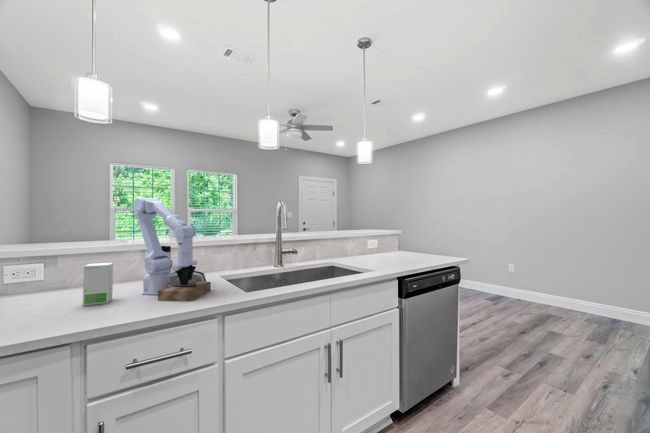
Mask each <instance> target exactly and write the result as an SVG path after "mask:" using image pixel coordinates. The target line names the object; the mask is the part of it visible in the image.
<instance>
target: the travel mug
mask: <svg viewBox="0 0 650 433" xmlns="http://www.w3.org/2000/svg"><path fill="white" fill-rule="evenodd" d="M160 246H161V249H162V251H164V252H166V253H168V255H169V257H170V258H171V259H172V253H171V252H172V250H171V249H172V247H171V245H160ZM171 274H172V268H171V269H170V271H169V272H168V282H169V285H170V280H169V277H170V275H171Z"/></svg>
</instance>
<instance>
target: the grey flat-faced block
mask: <svg viewBox="0 0 650 433" xmlns="http://www.w3.org/2000/svg"><path fill="white" fill-rule="evenodd" d="M176 287H196V279H187V284H186V285H181V283H180V280H179V279H177V280H176Z"/></svg>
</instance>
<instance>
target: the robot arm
mask: <svg viewBox="0 0 650 433" xmlns="http://www.w3.org/2000/svg"><path fill="white" fill-rule="evenodd" d="M132 208H133V210H134V211H133V212H134V213H135V216H136V218H137V223H138V225H139V226H138V227H139V229H140V232H141V234H142V235H141V236H142V238H143V240H144V245H145V247H146V250H147V252H148V253H147V255H146V257H145V258H144V269H145V271H146V274H145V275H144V276H143V280H142V282H143V283H142V286H143V287H142V288H143V292H142V293H141V294H142V295H156V296H158V291H159V290H161V289H164V288H166V287H169V286H170V284H169V282H168V272H169V271H170V269H171V270H172V271H174V272H176V273H177V275H178V277H179V280H180V283H181V285H186V284H187V279H192V275H193V272H194V270H197V269H196V268H197V266H196V265H198V260H196V259H195V260H193V257H194V256H193V251H194V250H193V249H194V248H193V244H194V243H193V238H194V237H195V236H196V232H197V231H196V228H195V227H194V225H192V224H187V222H186V221H184V220H183V219H181V218H180V215H178V214H172V213H171V211H169V210H168V209H167V207H165V205H164V201H162V200H161V199H160V198H157V197H156V198H154V197H153V198H152V197H141V196H138V197H136V198H135V200H134V201H133V204H132ZM157 215H158V216H160V217H161V218H162V219H164V220H165V225H166V226H167V227H169V229H170V230H171V231H173V234H174V237H175V239H176V243H177V263H176V264H175V265H174V264H173V260H172V257H171V258H170V257H169V255H168V253H166V252H164V251H162V249H161V246H162V245H161V244H160V240H159V237H158V235H157V230H156V229H155V225H154V222H153V218H155V217H156V216H157Z"/></svg>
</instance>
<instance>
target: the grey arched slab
mask: <svg viewBox="0 0 650 433" xmlns="http://www.w3.org/2000/svg"><path fill="white" fill-rule="evenodd" d="M177 279H179V277H178V275H177V273H176V272H175V271H174V272H171V275H170V277H169V280H170V284H169V286H172V285H174V284H176V280H177ZM192 279H196V282H208V281H207V278H206V276H205V272H204V271H203V270H197V269H195V270H194V272H193V275H192Z"/></svg>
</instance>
